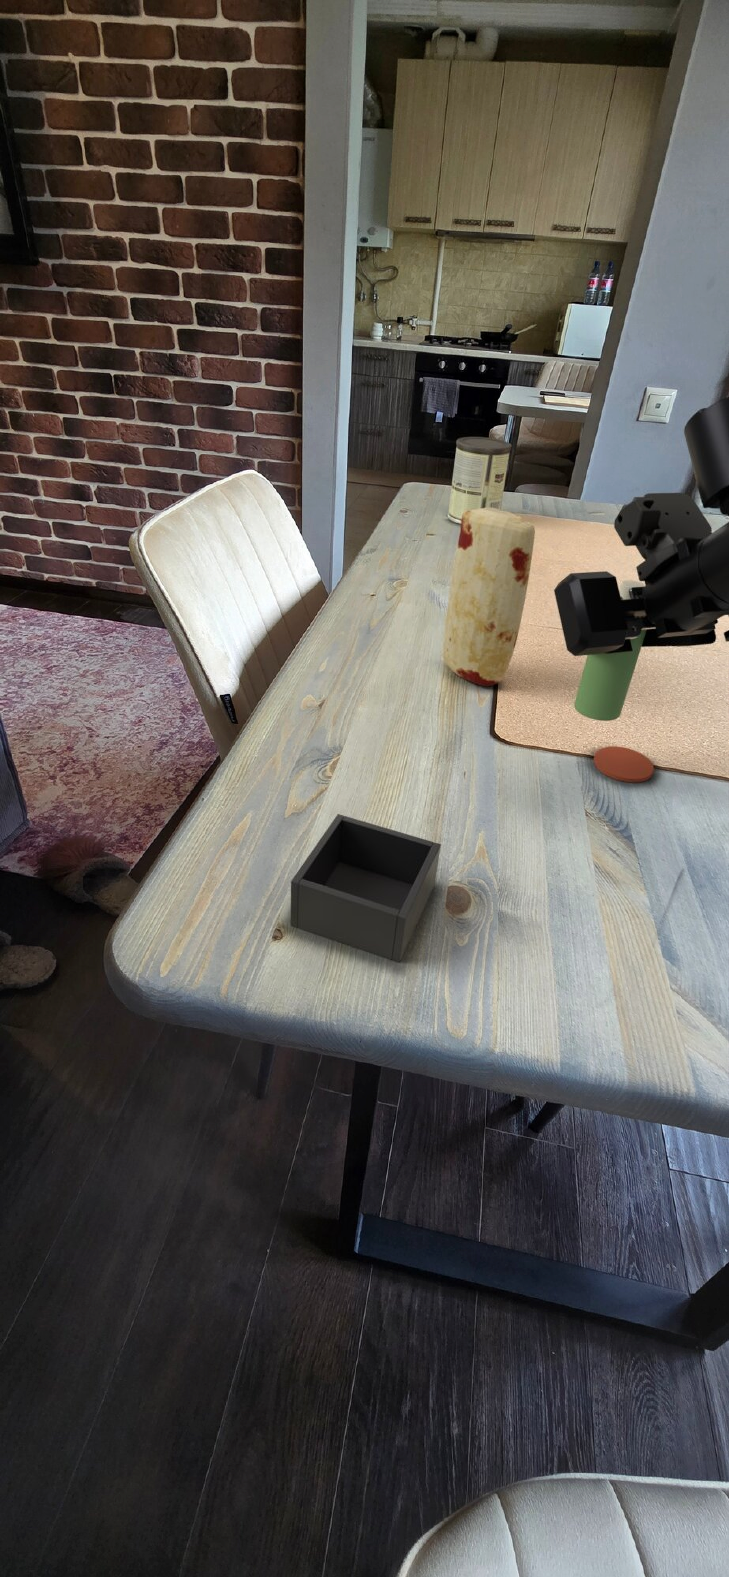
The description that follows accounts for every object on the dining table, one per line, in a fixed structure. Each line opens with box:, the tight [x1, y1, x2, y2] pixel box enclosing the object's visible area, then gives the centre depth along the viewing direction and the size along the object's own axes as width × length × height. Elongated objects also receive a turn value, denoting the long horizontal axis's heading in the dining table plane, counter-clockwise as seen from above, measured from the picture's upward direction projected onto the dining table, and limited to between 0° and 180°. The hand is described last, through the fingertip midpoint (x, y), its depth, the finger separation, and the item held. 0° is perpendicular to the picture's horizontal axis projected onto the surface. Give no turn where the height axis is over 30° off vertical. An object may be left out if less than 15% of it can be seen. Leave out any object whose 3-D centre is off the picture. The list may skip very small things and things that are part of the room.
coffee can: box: [447, 436, 513, 525], centre depth 142 cm, size 10×10×14 cm
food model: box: [442, 507, 536, 687], centre depth 85 cm, size 10×7×20 cm
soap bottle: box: [573, 579, 647, 722], centre depth 68 cm, size 4×4×12 cm
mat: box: [593, 746, 655, 784], centre depth 76 cm, size 6×6×1 cm
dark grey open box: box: [290, 813, 442, 964], centre depth 56 cm, size 9×9×5 cm
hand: (606, 643), depth 69 cm, fingers closed on soap bottle, 4 cm apart
